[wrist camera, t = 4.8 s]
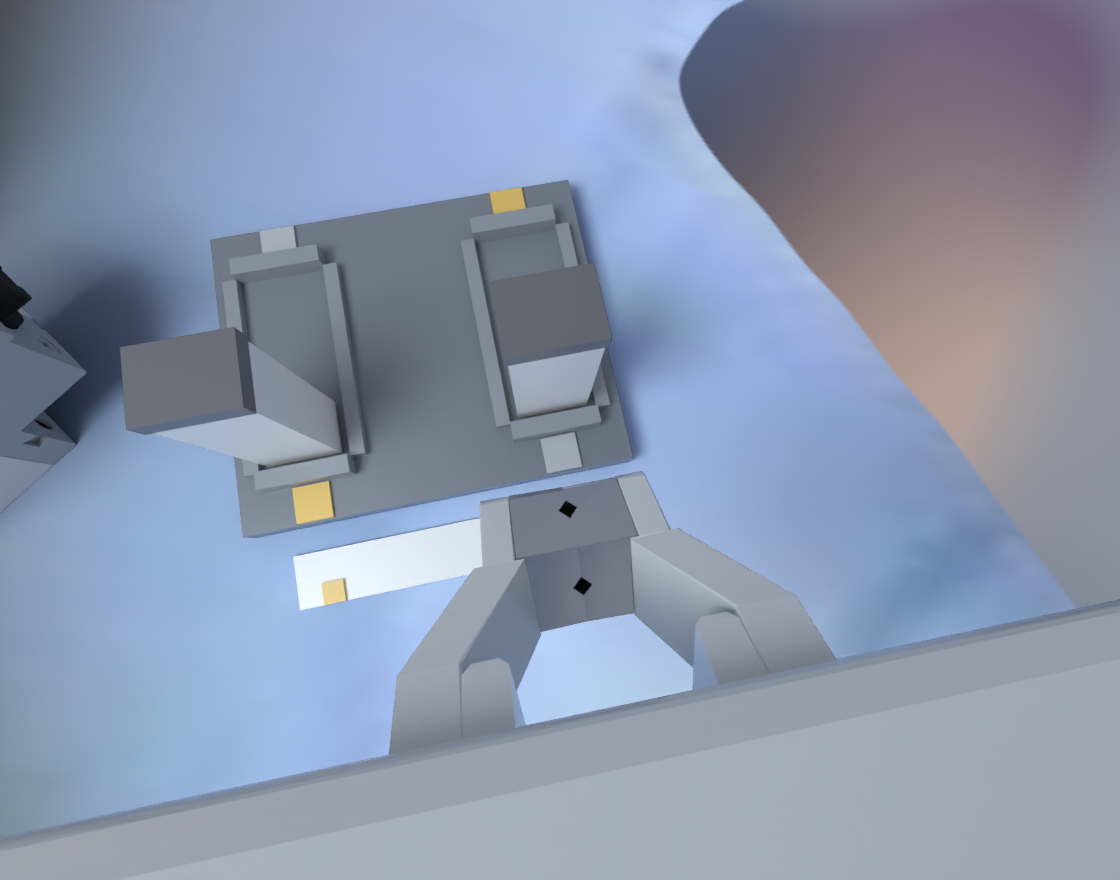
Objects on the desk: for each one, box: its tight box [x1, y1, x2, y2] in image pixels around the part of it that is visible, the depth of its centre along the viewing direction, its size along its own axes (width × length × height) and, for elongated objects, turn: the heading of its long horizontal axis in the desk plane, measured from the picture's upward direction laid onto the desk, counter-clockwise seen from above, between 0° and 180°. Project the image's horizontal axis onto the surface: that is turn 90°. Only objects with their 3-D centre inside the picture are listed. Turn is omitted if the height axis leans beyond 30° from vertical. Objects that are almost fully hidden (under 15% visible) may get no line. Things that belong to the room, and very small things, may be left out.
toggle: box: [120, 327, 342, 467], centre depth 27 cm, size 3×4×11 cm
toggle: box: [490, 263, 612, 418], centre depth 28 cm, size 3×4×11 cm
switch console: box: [210, 180, 633, 610], centre depth 33 cm, size 22×22×3 cm
